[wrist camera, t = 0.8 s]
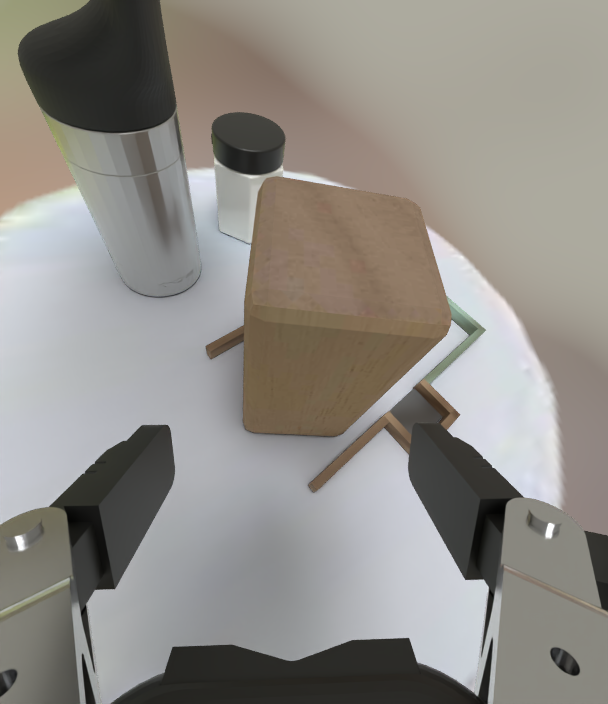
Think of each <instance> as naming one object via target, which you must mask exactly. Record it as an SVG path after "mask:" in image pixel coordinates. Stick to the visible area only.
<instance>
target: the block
mask: <svg viewBox="0 0 608 704" xmlns="http://www.w3.org/2000/svg"><path fill="white" fill-rule="evenodd" d="M451 316H452V314H451V310H450V307H449V303H448V300H447V297H446V293H445V290H444V287H443V283H442V280H441V277H440V273H439V270H438V266H437V263H436V260H435V256H434V253H433V250H432V246H431V243H430V240H429V236H428V233H427V229H426V226H425V223H424V219H423V216H422V213H421V209H420V207H419V206H418V205H417V204H415V203H414V202H412V201H410V200H409V199H407V198H401V197H395V196H389V195H383V194H377V193H372V192H366V191H360V190H354V189H348V188H343V187H337V186H331V185H325V184H319V183H313V182H308V181H302V180H296V179H290V178H284V177H278V176H275V177H269V178H266V179H265V180H264V182H263V183H262V185H261V187H260V189H259V191H258V194H257V202H256V211H255V219H254V227H253V235H252V243H251V251H250V259H249V268H248V276H247V284H246V292H245V300H244V376H243V423H244V426H245V429H246V430H249V431H251V432H253V433H275V434H296V435H318V436H338V435H340V434H343V433H344V432H345V431H346V430H347V429H348V428H349V427H350V426H351V425H352V424H353V423H354V422H355V421H356V420H357V419H359V418H360V417H361V416H362V415H363V414H364V413H365V412H366V411H367V410H368V409H369V408H370V407H371V406H372V405H373V404H374V403H375V402H376V401H378V400H379V399H380V398H381V397H382V396H383V395H384V394H385V393H386V392H387V391H388V390H389V389H390V388H391V387H392V386H393V385H394V384H395V383H396V382H398V381H399V380H400V379H401V378H402V377H403V376H404V375H405V374H406V373H407V372H408V371H409V370H410V369H411V368H412V367H413V366H414V365H415V364H416V363H418V362H419V361H420V360H421V359H422V358H423V357H424V356H425V355H426V354H427V353H428V352H429V351H430V350H431V349H432V348H433V347H434V346H435V345H436V344H438V343H439V342H440V341H441V340H442V339H443V338H444V337H445V336H446V335H447V333H448V330H449V328H450V326H451Z"/></svg>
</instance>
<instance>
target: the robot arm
mask: <svg viewBox="0 0 608 704" xmlns="http://www.w3.org/2000/svg"><path fill="white" fill-rule="evenodd" d="M18 57H19V62H20V66H21V68H22V71H23V73H24V76H25V78H26V80H27V82H28V85H29V87H30V89H31V91H32V93H33V95H34V97H35V99H36V101H37V103H38V105H39V107H40V109H41V111H42V113H43V115H44V117H45V119H46V122H47V124H48V126H49V128H50V130H51V132H52V134H53V136H54V138H55V140H56V142H57V145H58V147H59V148H60V150H61V152H62V154H63V157H64V158H65V161H66V162H67V165H68V167H69V169H70V171H71V173H72V175H73V177H74V180H75V182H76V184H77V186H78V188H79V190H80V192H81V194H82V196H83V199H84V201H85V203H86V205H87V207H88V209H89V211H90V213H91V215H92V217H93V219H94V222H95V224H96V226H97V228H98V230H99V232H100V234H101V236H102V238H103V240H104V243H105V245H106V247H107V249H108V251H109V253H110V256H111V258H112V260H113V262H114V264H115V266H116V268H117V270H118V272H119V274H120V276H121V278H122V280H123V281H124V283H125V284H126V285H127V286H128V287H129V288H130V289H132V290H134V291H136V292H138V293H140V294H144V295H147V296H155V297H160V296H170V295H174V294H177V293H180V292H182V291H184V290H186V289H188V288H189V287H191V286H192V285H193V284H194V283H195V282H196V280H197V279H198V278H199V275H200V273H201V261H200V254H199V248H198V240H197V233H196V227H195V220H194V214H193V207H192V201H191V194H190V188H189V181H188V174H187V168H186V161H185V155H184V148H183V143H182V136H181V130H180V123H179V117H178V111H177V104H176V98H175V92H174V86H173V80H172V75H171V69H170V64H169V58H168V52H167V46H166V40H165V33H164V27H163V21H162V14H161V7H160V0H90V1H89V2H88V3H87V4H86V5H85V6H83V7H82V8H81V9H79V10H77V11H76V12H74V13H72V14H70V15H67V16H65V17H62V18H60V19H57V20H54V21H51V22H49V23H46V24H44V25H41V26H39V27H37V28H35V29H33V30H32V31H31V32H29V33H28V34H27V35H26V36H25V37H24V38H23V39H22V40H21V42H20V44H19V49H18ZM408 471H409V477H410V480H411V483H412V485H413V487H414V489H415V491H416V492H417V494H418V496H419V498H420V500H421V501H422V503H423V505H424V507H425V509H426V510H427V512H428V514H429V516H430V518H431V519H432V521H433V523H434V525H435V526H436V528H437V530H438V532H439V534H440V535H441V537H442V539H443V541H444V543H445V544H446V546H447V548H448V550H449V552H450V553H451V555H452V557H453V559H454V561H455V562H456V564H457V566H458V568H459V570H460V571H461V573H462V575H463V577H464V578H465V580H479V579H484V580H485V582H486V583H487V585H488V587H489V588H488V593H487V598H486V606H485V614H484V621H483V629H482V637H481V645H480V653H479V661H478V669H477V676H476V682H475V688H474V693H473V692H472V691H471V690H469V689H468V688H466V687H465V686H463V685H462V684H461V683H459V682H458V681H456V680H455V679H453V678H451V677H449V676H448V675H446V674H444V673H442V672H440V671H438V670H436V669H434V668H431V667H429V666H427V665H424V664H420V663H417V661H416V658H415V655H414V652H413V649H412V646H411V642H410V639H409V638H398V639H371V640H352V641H349V642H346V643H343V644H341V645H338V646H335V647H333V648H330V649H327V650H325V651H322V652H319V653H316V654H314V655H311V656H308V657H306V658H303V659H300V660H297V661H287V660H283V659H279V658H276V657H273V656H269V655H266V654H262V653H259V652H255V651H252V650H248V649H245V648H241V647H238V646H235V645H213V646H186V647H172V650H171V654H170V657H169V660H168V663H167V666H166V669H165V673H163V674H160V675H157V676H155V677H153V678H151V679H149V680H147V681H145V682H143V683H141V684H139V685H137V686H136V687H134V688H132V689H131V690H129V691H128V692H126V693H124V694H123V695H121V696H120V697H119V698H117V699H116V700H115V701H114V702H112V703H111V704H608V536H607V535H602V534H597V533H593V532H588V531H584V530H583V529H582V527H581V526H580V525H579V524H578V523H577V522H576V521H575V520H574V519H573V518H572V517H570V516H569V515H568V514H566V513H565V512H563V511H562V510H560V509H558V508H556V507H554V506H552V505H550V504H548V503H545V502H542V501H539V500H536V499H531V498H524V497H523V496H522V495H521V494H520V493H519V492H518V491H517V490H516V489H515V488H514V487H513V486H512V485H511V484H510V483H509V482H508V481H507V480H506V479H505V478H504V477H503V476H502V475H501V474H500V473H499V472H498V471H497V470H496V469H495V468H492V465H491V464H490V463H489V462H488V461H487V460H485V459H483V457H482V456H481V455H480V454H479V453H478V452H477V451H476V450H475V449H474V448H473V447H472V446H471V445H469V444H467V443H465V442H464V441H462V440H460V439H459V438H457V437H453V436H452V435H451V434H450V433H449V432H448V431H447V430H446V429H445V428H444V427H443V426H442V425H441V424H440V423H415V424H414V425H413V428H412V435H411V444H410V453H409V462H408ZM174 475H175V465H174V456H173V447H172V439H171V431H170V428H169V426H168V425H142V426H141V427H140V428H139V429H138V430H137V431H136V432H135V433H134V434H133V435H132V436H131V437H130V438H129V439H128V440H127V441H122V442H120V443H119V444H117V445H115V446H114V447H112V448H110V449H108V450H107V451H106V452H105V453H104V454H103V455H102V456H100V457H99V458H98V459H97V460H96V461H95V464H92V465H91V466H90V467H89V468H88V469H87V470H86V471H85V474H82V475H81V476H80V477H79V478H78V479H77V480H76V481H75V482H74V483H73V484H72V485H71V486H70V487H69V488H68V489H67V490H66V491H65V492H64V493H63V494H62V495H61V496H60V497H59V498H58V499H57V500H56V501H55V502H53V503H52V504H51V505H50V506H49V507H45V508H39V509H35V510H31V511H28V512H25V513H23V514H20V515H18V516H16V517H14V518H11V519H10V520H8V521H6V522H4V523H3V524H1V525H0V704H102V701H101V695H100V689H99V682H98V675H97V668H96V660H95V653H94V646H93V638H92V631H91V624H90V617H89V610H88V606H87V602H88V600H89V598H90V597H91V595H92V594H93V592H94V590H100V589H115V588H116V586H117V585H118V583H119V581H120V579H121V577H122V576H123V574H124V572H125V570H126V568H127V567H128V565H129V563H130V561H131V559H132V558H133V556H134V554H135V552H136V550H137V549H138V547H139V545H140V543H141V541H142V539H143V538H144V536H145V534H146V532H147V530H148V529H149V527H150V525H151V523H152V521H153V520H154V518H155V516H156V514H157V512H158V511H159V509H160V507H161V505H162V503H163V502H164V500H165V498H166V496H167V494H168V492H169V491H170V489H171V487H172V484H173V480H174Z"/></svg>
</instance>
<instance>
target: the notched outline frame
mask: <svg viewBox="0 0 608 704" xmlns="http://www.w3.org/2000/svg"><path fill="white" fill-rule="evenodd" d="M446 297H447V296H446ZM447 300H448V303H449V307H450V310H451V314H452V316H451V319H452V320H453V321H454V322H456V323H457V324H458V325H459V326H460V327H461V328H462V329H463V330H465V331H466V332H467V333H468V334H469V335H470V336H469V337H468V338H467V339H466V340H465V341H464V342H463V343H461V344H460V345H459V346H458V347H457V348H456V349H455V350H454V351H453V352H452V353H451V354H449V355H448V356H447V357H446V358H445V359H444V360H443V361H442V362H441V363H440V364H439V365H438V366H436V367H435V368H434V369H433V370H432V371H431V372H430V373H429V374H428V375H427V376H426V377H425V378H423V379H422V380H421V381H420V382H419V383H418V384H417V385H416V386H415V387H414V388H413V390H412V391H411V392H410V393H409V394H407V395H406V396H405V397H404V398H403V399H402V400H401V401H400V402H399V403H398V404H397V405H396V406H395V407H393V408H392V409H391V410H390V411H388V412H387V413H386V414H385V415H383V416H382V417H381V418H380V419H379V420H378V421H377V422H376V423H375V424H374V425H372V426H371V427H370V428H369V429H368V430H367V431H366V432H365V433H364V434H363V435H362V436H361V437H359V438H358V439H357V440H356V441H355V442H354V443H353V444H352V445H351V446H350V447H349V448H348V449H346V450H345V451H344V452H343V453H342V454H341V455H340V456H339V457H338V458H337V459H336V460H335V461H333V462H332V463H331V464H330V465H329V466H328V467H327V468H326V469H325V470H324V471H323V472H322V473H320V474H319V475H318V476H317V477H316V478H315V479H314V480H313V481H312V482H311V483H310V484H308V486H309V487H310V489H311V490H312V491H313V492H315V491H317V490H318V489H319V488H320V487H321V486H322V485H324V484H325V483H326V482H327V481H328V480H329V479H330V478H331V477H332V476H333V475H334V474H335V473H336V472H337V471H338V470H339V469H340V468H341V467H343V466H344V465H345V464H346V463H347V462H348V461H349V460H350V459H351V458H352V457H353V456H354V455H355V454H356V453H357V452H358V451H359V450H360V449H361V448H363V447H364V446H365V445H366V444H367V443H368V442H369V441H370V440H371V439H372V438H373V437H374V436H375V435H376V434H377V433H378V432H379V431H380V430H381V429H383V428H384V427H385V429H386V430H387V431H388V432H389V433H390V434H391V435H392V436H393V437H394V438H395V440H396V441H397V442H398V443H399V444H400V445H401V446H402V447H403V448H404V449H405V451H406V452H407V453H408V454H409V453H410V444H411V435H412V428H413V425H414V424H415V423H437V422H438V421H439V420H440V419H441V418H442V419H441V420H440V421H439V422H438V423H440V424H441V425H442V426H443V427H444V428H445V429H446V430H447V429H448V428H449V427H450V426H451V425H452V424H453V423H454V421H455V420H456V419H457V418H458V417H459V416H460V414H459V413H458V412H457V411H456V410H455V409H454V408H453V407H452V406H451V405H450V404H449V403H448V402H447V401H446V400H445V399H444V398H443V397H442V396H441V395H440V394H439V393H438V392H437V391H436V390H435V389H434V388H433V387H432V386H431V385H430V383H431V382H432V381H433V380H434V379H435V378H436V377H437V376H438V375H439V374H440V373H442V372H443V371H444V370H445V369H446V368H447V367H448V366H449V365H450V364H451V363H452V362H453V361H454V360H455V359H456V358H457V357H458V356H459V355H460V354H462V353H463V352H464V351H465V350H466V349H467V348H468V347H469V346H470V345H471V344H472V343H473V342H474V341H475V340H476V339H477V338H478V337H479V336H481V335H482V334H483V333H484V332H485V331H486V330H485V329H484V328H483V327H482V326H481V325H480V324H478V323H477V322H476V321H475V320H474V319H473V318H471V317H470V316H469V315H468V314H467V313H466V312H464V311H463V310H462V309H461V308H460V307H459V306H458V305H456V304H455V303H454V302H453V301H452V300H451V299H449V298H448V297H447ZM242 341H244V325H243V326H241V327H240V328H238V329H236V330H234V331H232V332H231V333H229V334H227V335H225V336H223V337H221V338H220V339H218V340H216V341H214V342H212V343H211V344H209V345H207V346H206V351H207V354H208V356H209V357H210V358H211V359H212V358H214V357H216V356H218V355H219V354H221V353H223V352H225V351H226V350H228V349H230V348H232V347H233V346H235V345H237V344H239V343H240V342H242Z"/></svg>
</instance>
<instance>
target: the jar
mask: <svg viewBox="0 0 608 704" xmlns="http://www.w3.org/2000/svg"><path fill="white" fill-rule="evenodd" d="M211 137H212V144H213V152H214V166H215V180H216V193H217V207H218V220H219V230H220V231H221V232H223V233H225V234H228V235H230V236H232V237H235V238H237V239H239V240H241V241H244V242H246V243H252V235H253V227H254V219H255V211H256V202H257V194H258V191H259V189H260V187H261V185H262V183H263V182H264V180H265V179H266V178H269V177H275V176H278V177H283V165H282V163H283V157H284V147H285V134H284V132H283V130H282V129H281V128H280V127H279V126H278V125H277V124H276V123H274V122H273V121H271V120H269V119H267V118H265V117H262V116H259V115H255V114H251V113H242V112H235V113H228V114H224V115H222V116H220V117H218V118H217V119H215V120H214V122H213V124H212V134H211Z"/></svg>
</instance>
